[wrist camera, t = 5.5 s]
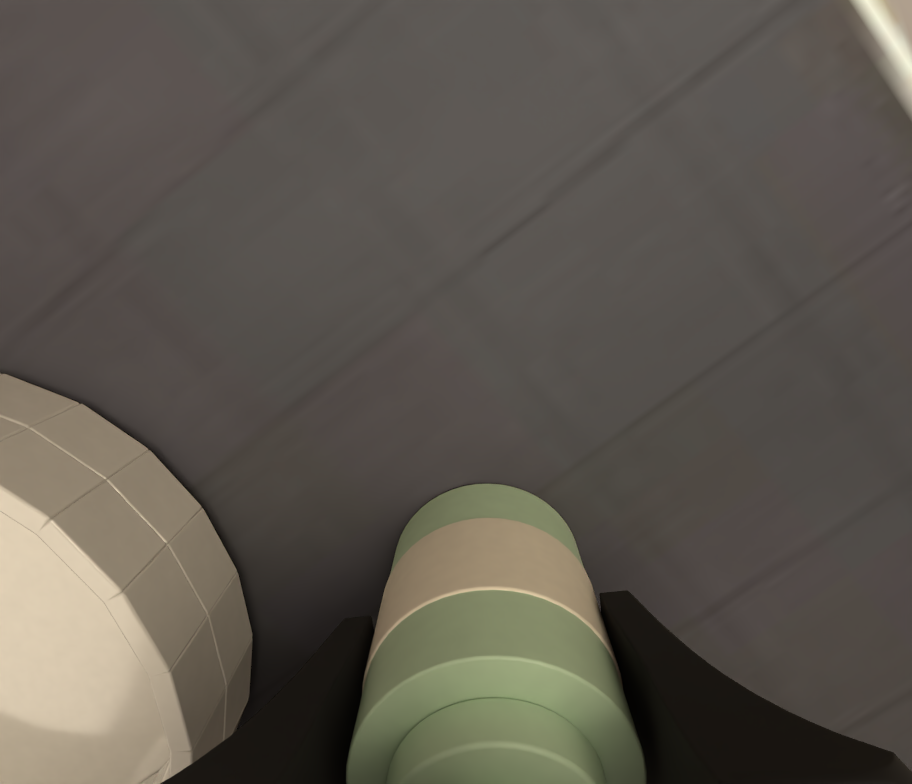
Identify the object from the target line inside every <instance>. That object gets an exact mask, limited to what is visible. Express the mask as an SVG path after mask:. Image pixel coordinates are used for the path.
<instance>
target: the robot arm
mask: <svg viewBox="0 0 912 784" xmlns="http://www.w3.org/2000/svg"><path fill="white" fill-rule="evenodd" d="M600 604H601V615H602V618H603V621H604V624H605V627H606V630H607V633H608V636H609V639H610V642H611V645H612V648H613V651H614V654H615V658H616V661H617V664H618V667H619V670H620V673H621V677H622V684H623V691H624V694H625V697H626V700H627V703H628V706H629V709H630V713H631V716H632V719H633V722H634V725H635V728H636V731H637V734H638V737H639V741H640V744H641V747H642V750H643V753H644V757H645V764H646V771H647V783H646V784H912V772H911V771H910V770H909V769H908V768H907V767H906V766H905V765H904V763H903V762H902V761H901V760H900V759H899V758H898V757H897V756H896V755H895V754H894V753H893V752H890V751H887V750H884V749H881V748H878V747H875V746H873V745H870V744H867V743H864V742H861V741H858V740H855V739H852V738H849V737H846V736H843V735H841V734H838V733H836V732H833V731H831V730H829V729H826V728H824V727H821V726H819V725H817V724H814V723H812V722H810V721H807V720H805V719H803V718H801V717H799V716H797V715H795V714H792V713H790V712H788V711H786V710H784V709H782V708H781V707H779V706H777V705H775V704H773V703H771V702H769V701H767V700H765V699H764V698H762V697H760V696H758V695H756V694H755V693H753V692H751V691H749V690H748V689H746V688H744V687H743V686H741V685H740V684H738V683H737V682H735V681H734V680H732V679H730V678H729V677H727V676H726V675H724V674H723V673H721V672H720V671H718V670H717V669H715V668H714V667H713V666H711V665H710V664H709V663H707V662H706V661H705V660H703V659H702V658H701V657H700V656H698V655H697V654H696V653H694V652H693V651H692V650H691V649H690V648H688V647H687V646H686V645H685V644H684V643H683V642H681V641H680V640H679V639H678V638H677V637H676V636H675V635H673V634H672V633H671V632H670V631H669V630H668V629H667V628H666V627H665V626H663V625H662V624H661V623H660V622H659V621H658V620H657V619H656V618H655V617H654V616H653V615H652V614H651V613H650V612H649V611H648V610H647V609H646V608H645V607H644V606H643V605H642V604H641V603H640V602H639V601H638V600H637V599H636V598H635V597H634V596H633V595H632V594H631V593H630V592H628V591H617V592H607V593H600ZM373 636H374V628H373V623H372V617H371V616H365V617H355V618H345V619H344V620H343V621H342V622H341V624H340V625H339V626H338V627H337V628H336V629H335V631H334V632H333V633H332V634H331V635H330V636H329V638H328V639H327V640H326V641H325V642H324V643H323V645H322V646H321V647H320V648H319V649H318V651H317V652H316V653H315V654H314V655H313V656H312V658H311V659H310V660H309V661H308V662H307V663H306V664H305V665H304V667H303V668H302V669H301V670H300V671H299V672H298V673H297V674H296V675H295V676H294V677H293V678H292V680H291V681H290V682H289V683H288V684H287V685H286V686H285V687H284V688H283V689H282V690H281V691H280V692H279V693H278V694H277V695H276V696H275V697H274V698H273V699H272V700H271V701H270V702H269V703H268V704H267V705H266V706H265V707H264V708H262V709H261V710H260V711H259V712H258V713H257V714H256V715H255V716H254V717H252V718H251V719H250V720H249V721H248V722H246V723H245V724H244V725H243V726H242V727H241V728H239V729H238V730H237V731H236V732H235V733H233V734H232V735H231V736H229V737H228V738H227V739H225V740H224V741H223V742H221V743H220V744H219V745H217V746H216V747H214V748H213V749H212V750H210V751H209V752H208V753H206V754H205V755H203V756H202V757H201V758H199V759H198V760H197V761H195V762H194V763H192V764H191V765H189V766H188V767H186V768H184V769H183V770H181V771H180V772H178V773H177V774H175V775H174V776H172V777H170V778H169V779H167V780H165V781H164V782H162V783H160V784H346V764H347V759H348V754H349V749H350V744H351V740H352V736H353V731H354V727H355V723H356V719H357V714H358V710H359V706H360V702H361V697H362V684H363V679H364V674H365V669H366V665H367V661H368V656H369V652H370V648H371V644H372V640H373Z"/></svg>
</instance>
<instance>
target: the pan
mask: <svg viewBox="0 0 912 784" xmlns="http://www.w3.org/2000/svg"><path fill="white" fill-rule="evenodd" d="M252 636H253V634H252V630H251V626H250V621H249V617H248V613H247V609H246V605H245V600H244V596H243V592H242V588H241V583H240V579H239V575H238V572H237V569H236V567H235V566H234V564H233V562H232V560H231V558H230V556H229V555H228V553H227V551H226V549H225V547H224V545H223V544H222V542H221V540H220V538H219V536H218V534H217V533H216V531H215V529H214V527H213V525H212V523H211V522H210V520H209V518H208V516H207V514H206V512H205V511H204V509H203V508H202V506H201V505H200V504H199V503H198V502H197V501H196V499H195V498H194V497H193V496H192V495H191V494H190V493H189V492H188V491H187V490H186V489H185V487H184V486H183V485H182V484H181V483H180V482H179V481H178V480H177V479H176V478H175V477H174V476H173V474H172V473H171V472H170V471H169V470H168V469H167V468H166V467H165V466H164V465H163V464H162V462H161V461H160V460H159V459H158V458H157V457H156V456H155V455H154V454H153V453H152V452H151V451H150V450H148V448H147V447H145V446H144V445H142V444H141V443H139V442H138V441H136V440H135V439H134V438H132V437H131V436H129V435H128V434H126V433H125V432H123V431H122V430H120V429H119V428H117V427H116V426H114V425H113V424H112V423H110V422H109V421H107V420H106V419H104V418H103V417H101V416H100V415H98V414H97V413H95V412H94V411H93V410H91V409H90V408H88V407H87V406H85V405H84V404H79V403H78V402H76V401H74V400H71V399H69V398H66V397H64V396H61V395H58V394H56V393H53V392H51V391H48V390H46V389H43V388H40V387H38V386H35V385H33V384H30V383H28V382H25V381H23V380H20V379H17V378H15V377H12V376H10V375H7V374H2V373H0V784H160V783H162V782H164V781H165V780H167V779H169V778H170V777H172V776H174V775H175V774H177V773H178V772H180V771H181V770H183V769H184V768H186V767H188V766H189V765H191V764H192V763H194V762H195V761H197V760H198V759H199V758H201V757H202V756H203V755H205V754H206V753H208V752H209V751H210V750H212V749H213V748H214V747H216V746H217V745H219V744H220V743H221V742H223V741H224V740H225V739H227V738H228V737H229V736H231V735H232V734H233V733H235V732H236V730H237V727H238V725H239V722H240V720H241V717H242V715H243V712H244V710H245V707H246V705H247V702H248V697H249V690H250V674H251V658H252V642H253V639H252Z"/></svg>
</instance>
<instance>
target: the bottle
mask: <svg viewBox="0 0 912 784" xmlns="http://www.w3.org/2000/svg"><path fill="white" fill-rule="evenodd" d="M646 783H647V771H646V764H645V757H644V753H643V750H642V747H641V744H640V741H639V737H638V734H637V731H636V728H635V725H634V722H633V719H632V716H631V713H630V709H629V706H628V703H627V700H626V697H625V694H624V691H623V684H622V677H621V673H620V670H619V667H618V664H617V661H616V658H615V654H614V651H613V648H612V645H611V642H610V639H609V636H608V633H607V630H606V627H605V624H604V621H603V618H602V615H601V612H600V609H599V606H598V603H597V600H596V597H595V594H594V591H593V587H592V584H591V581H590V579H589V577H588V575H587V573H586V571H585V569H584V567H583V564H582V560H581V557H580V554H579V551H578V548H577V545H576V542H575V539H574V537H573V535H572V533H571V531H570V529H569V527H568V526H567V524H566V523H565V521H564V520H563V519H562V517H561V516H560V515H559V514H558V513H557V512H556V511H555V510H554V509H553V508H552V507H551V506H549V505H548V504H547V503H546V502H544V501H543V500H541V499H540V498H538V497H537V496H535V495H533V494H530V493H528V492H526V491H524V490H521V489H518V488H515V487H511V486H506V485H501V484H474V485H468V486H463V487H459V488H456V489H453V490H450V491H448V492H445V493H443V494H441V495H439V496H437V497H436V498H434V499H432V500H431V501H429V502H428V503H427V504H426V505H424V506H423V507H422V508H421V509H420V510H419V511H418V512H417V513H416V514H415V515H414V516H413V517H412V518H411V520H410V521H409V522H408V524H407V525H406V527H405V529H404V531H403V532H402V534H401V536H400V539H399V542H398V545H397V548H396V552H395V556H394V561H393V565H392V569H391V573H390V576H389V578H388V581H387V584H386V587H385V590H384V594H383V598H382V602H381V606H380V610H379V615H378V619H377V623H376V627H375V631H374V636H373V640H372V644H371V648H370V652H369V656H368V661H367V665H366V669H365V674H364V679H363V684H362V697H361V702H360V706H359V710H358V714H357V719H356V723H355V727H354V731H353V736H352V740H351V744H350V749H349V754H348V759H347V764H346V784H646Z"/></svg>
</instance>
